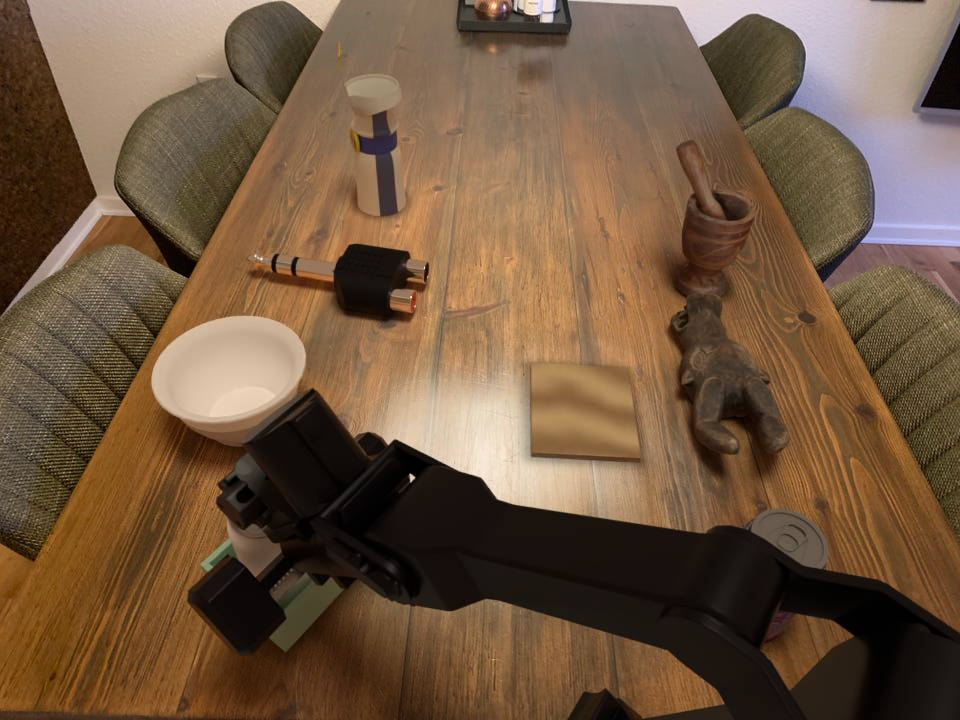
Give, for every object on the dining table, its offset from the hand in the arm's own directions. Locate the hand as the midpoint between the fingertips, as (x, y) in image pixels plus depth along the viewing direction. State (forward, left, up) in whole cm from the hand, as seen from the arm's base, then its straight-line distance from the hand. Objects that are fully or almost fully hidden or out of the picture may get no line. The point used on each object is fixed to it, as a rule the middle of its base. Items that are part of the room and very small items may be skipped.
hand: (270, 534), depth 62 cm
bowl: (+22, +1, -8) cm, 23 cm away
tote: (0, 0, -8) cm, 8 cm away
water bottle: (+60, -25, -8) cm, 65 cm away
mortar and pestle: (+27, -61, -8) cm, 67 cm away
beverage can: (-17, -40, -8) cm, 44 cm away
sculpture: (+7, -53, -8) cm, 54 cm away
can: (0, 0, -8) cm, 8 cm away
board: (+10, -36, -8) cm, 38 cm away
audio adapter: (+42, -13, -8) cm, 45 cm away
